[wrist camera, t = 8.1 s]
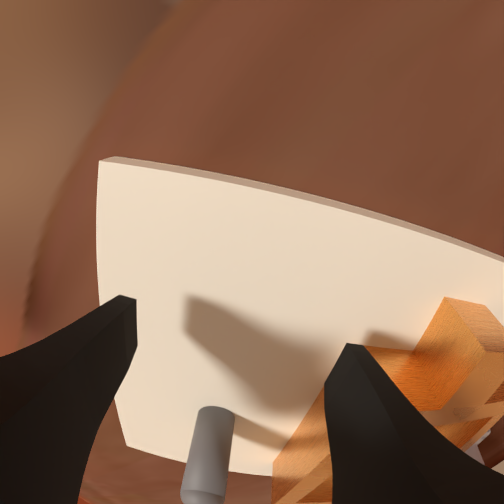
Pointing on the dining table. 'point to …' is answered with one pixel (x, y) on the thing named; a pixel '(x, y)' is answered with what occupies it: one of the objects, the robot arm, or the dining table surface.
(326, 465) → the wooden link
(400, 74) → the dining table surface
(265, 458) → the board
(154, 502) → the dining table surface
